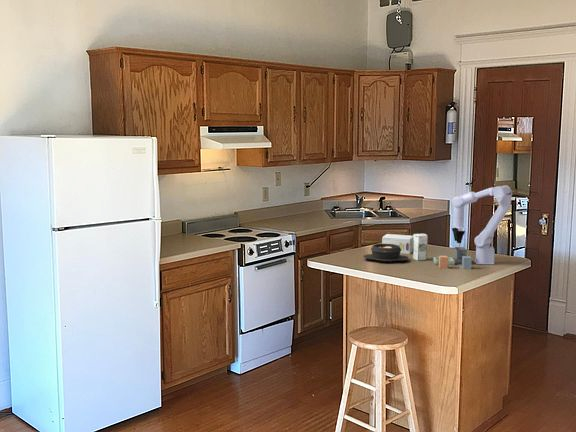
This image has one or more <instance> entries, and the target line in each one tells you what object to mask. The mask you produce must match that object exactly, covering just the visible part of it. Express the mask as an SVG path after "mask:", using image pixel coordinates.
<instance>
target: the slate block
mask: <svg viewBox="0 0 576 432" xmlns="http://www.w3.org/2000/svg"><path fill="white" fill-rule="evenodd" d="M472 260H473V259H472V257H471V256H462V265H461V267H462V269H463V270H472Z"/></svg>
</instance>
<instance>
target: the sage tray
mask: <svg viewBox="0 0 576 432" xmlns="http://www.w3.org/2000/svg"><path fill="white" fill-rule="evenodd" d="M447 257H448V266H455V261H454V260H453V259H454V257H450V256H447ZM432 261H433V263H434V264H435V266H439V256H433V257H432Z"/></svg>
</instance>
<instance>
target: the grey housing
mask: <svg viewBox="0 0 576 432" xmlns="http://www.w3.org/2000/svg"><path fill="white" fill-rule="evenodd" d="M467 251H468V250H467V249H466V247H464V246H454V251H453V260H454V261H455V265H457V266H458V265H460V266H462V256H467V253H468V252H467ZM455 265H454V266H455Z"/></svg>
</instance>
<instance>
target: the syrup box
mask: <svg viewBox="0 0 576 432" xmlns="http://www.w3.org/2000/svg"><path fill="white" fill-rule="evenodd" d="M413 236H414V238H413V252H412V259H413V260H415V261H417V262H418V261H427V258H428V257H427V256H428V234H426V233H413Z"/></svg>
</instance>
